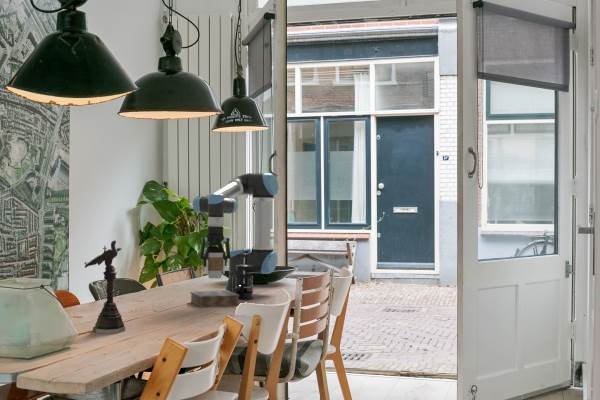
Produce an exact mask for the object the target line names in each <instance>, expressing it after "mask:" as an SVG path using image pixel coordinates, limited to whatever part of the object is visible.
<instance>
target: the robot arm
mask: <svg viewBox="0 0 600 400" xmlns="http://www.w3.org/2000/svg"><path fill="white" fill-rule="evenodd" d="M278 191H279V182H278V179H277V177H276V175H275V174H273V173H270V172H269V173H268V172H263V173H261V172H259V173H258V172H257V173H255V172H254V173H250V172H249V173H244V174H241V175H238V176H236V177H234V178H232V179H230V180H229V181H228V183H227V184H226V185H223V186H221V187H220V188H218V189H217V190H215V191H213V192H211V193H209V194H208V195H206V196H204V197H196V198H194V199H193V201H192V210H193V211H194V212H195V213H200V214H207V236H206V237H201V238H200V241H201V245H200V249H199V257H198V258H199V259H201V260H202V266H203V267H204V274H205V275H208V260H207V257H208V255H209V252H208V250H209V248H208V249H207V248H206V243H207V242H208V244H207V246H208V247H214V246H217V247H219V248H223V249H224V245H225V250H224V252H223V263H222V271H221V274H225V272H226V267H227V265H228V279H227V281H226V282H227V283H226V285H225V290H228V291H230V292H231V276H232V275H237V274H250V275H251V274H267V275H268V274H272V273H273V272H274V271H275V269H276V266H277V263H278V257H277V254H276V252H274V248H273V247H272V245H271V230H272V229H271V227H272V225H271V224H272V223H271V221H272V220H271V219H272V218H271V217H272V201H273V199H274V198H275V195H277V194H278ZM243 195H250V196H251V195H252V199H253V200H254V245H253V247H251V248H241V249H231V250H230V238H229V237H225V236H224V214H229V215H231V214H233V213H235V212H236V211H237V210H238V206H239V205H238V201H237V200H236V199H234V198H235V197H240V196H243ZM223 241H224V245H223ZM205 249H206V250H205ZM242 253H246V254H248V255H245V264H247V265H253V266H252V268H251V269H249V270H247V271H243V270H236V266H235V265H241V264H244V257H243V255H241V254H242ZM227 263H229V264H227ZM237 285H240V278H236V286H237ZM247 285H250V286H252V278H249V279H248V284H247ZM236 291H240V288H236ZM247 291H251V292H252V288H247ZM233 292H235V276H233Z"/></svg>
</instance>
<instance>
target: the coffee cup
mask: <svg viewBox="0 0 600 400" xmlns="http://www.w3.org/2000/svg"><path fill="white" fill-rule="evenodd" d="M208 248H209V250H208V252H209V255H208V257H207V259H206V260H208V274H207V275H208V279H221V278H222V263H223V252H224V251H225V249H224V247H223V248H219V246H212V247H208V245H207V247H206V249H208Z"/></svg>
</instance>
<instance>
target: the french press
mask: <svg viewBox="0 0 600 400" xmlns="http://www.w3.org/2000/svg"><path fill="white" fill-rule="evenodd" d="M241 255H243V257H244V264H241V265H235V266H236V270H243V271H247V270H249V269H251V268H252V266H253V265H247V264H245V255H248V254H246V253H242V254H241ZM233 276H235V292H233ZM236 278H240V285H237V286H236ZM249 278H251V281H252V286H250V285H247V284H248V279H249ZM253 279H254V276H253V274H251V273H250V274H237V275H232V276H231V292H233V293H235V294H238V295H240V296H238V301H250V299H251V300H253V299H254V297H253V292H254V283H253V282H254V280H253ZM236 288H240V291H236ZM247 288H252V292H251V291H247Z"/></svg>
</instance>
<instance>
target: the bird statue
mask: <svg viewBox="0 0 600 400" xmlns="http://www.w3.org/2000/svg"><path fill="white" fill-rule="evenodd" d="M116 243H117V241H116V240H112V241H111V243H110V248H109V249H107V247H106V245H104V246H103V248H102V249H103V253H101V254H98V255H97V256H96V257H94V258H93V259H91V260H90V261H85V262H84V268H85V269H86V268H87V267H91V266H96V265H98V267H99V266H100V265H101V264H102V263H103V262H104V266H105V268H104V271H103V272H102V273H103V275H104V277H103V279H104V280H106V290H105V292H106V301H105V302H104V303H103V307H102V308H101V311H100V313H99V314H98V315H97V319H96V322H95V324H94V325H95V326H93V327H92V332H93V333H95V334H104V335H109V334H110V335H111V334H119V333H123V332H126V326H125V324H124V323H125V322H124V321H123V315H122V314H121V312H119V309H118V307H117V303H116V302H115V301H114V292H115V290H114V281H115V280H116V279H117V274H118V272H117V271H116V267H115V266H114V265H112V264H113V260H114V259H115V258H116V257H118V253H119V251H121V250H122V247H116Z"/></svg>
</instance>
